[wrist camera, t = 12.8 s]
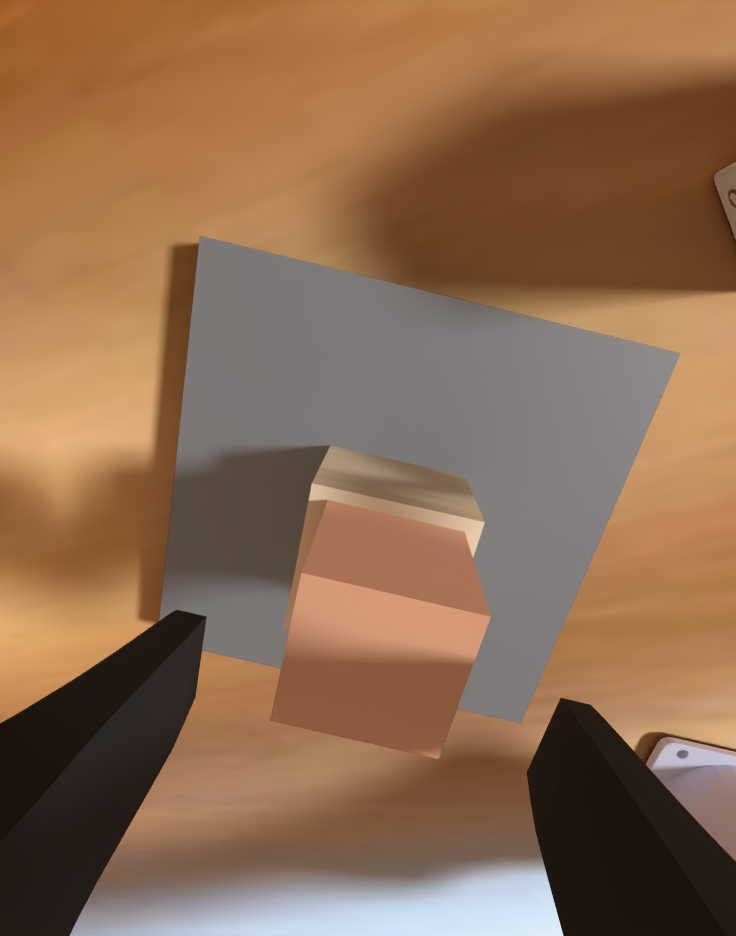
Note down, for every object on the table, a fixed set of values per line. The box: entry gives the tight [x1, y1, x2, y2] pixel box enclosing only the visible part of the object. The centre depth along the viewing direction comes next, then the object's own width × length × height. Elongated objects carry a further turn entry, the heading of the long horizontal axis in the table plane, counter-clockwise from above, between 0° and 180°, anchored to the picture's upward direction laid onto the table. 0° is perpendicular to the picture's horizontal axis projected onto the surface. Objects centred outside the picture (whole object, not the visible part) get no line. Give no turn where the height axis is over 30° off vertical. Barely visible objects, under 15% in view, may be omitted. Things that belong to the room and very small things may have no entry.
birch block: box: [284, 445, 485, 630], centre depth 16 cm, size 5×5×4 cm
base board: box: [159, 236, 681, 723], centre depth 19 cm, size 16×16×2 cm
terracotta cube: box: [270, 500, 491, 759], centre depth 12 cm, size 4×4×4 cm
